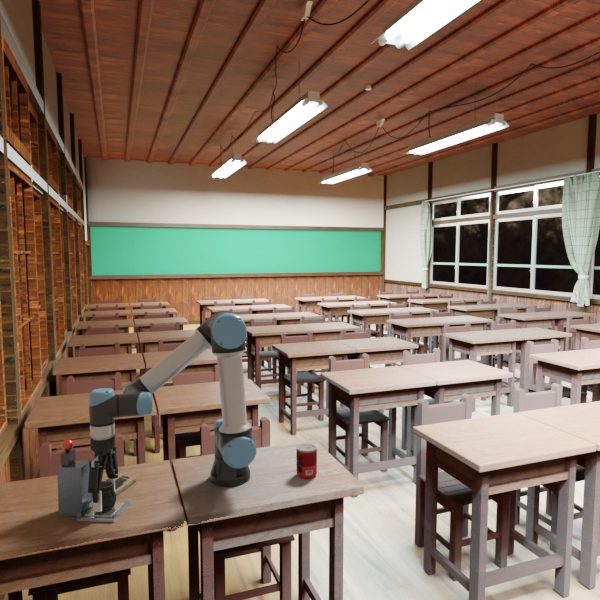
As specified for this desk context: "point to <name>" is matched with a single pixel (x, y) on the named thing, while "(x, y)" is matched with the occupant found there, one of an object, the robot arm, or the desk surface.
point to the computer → (123, 483)
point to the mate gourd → (107, 495)
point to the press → (82, 495)
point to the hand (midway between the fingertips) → (104, 504)
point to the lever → (67, 453)
